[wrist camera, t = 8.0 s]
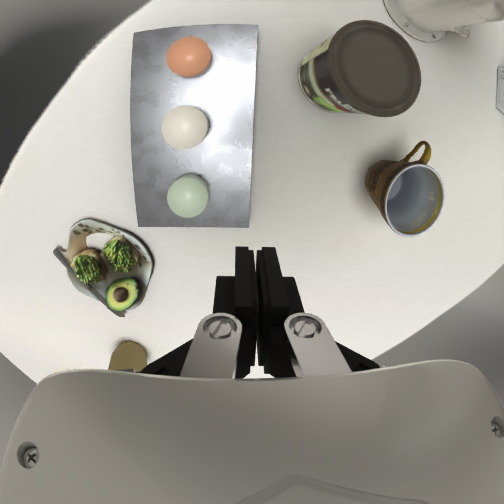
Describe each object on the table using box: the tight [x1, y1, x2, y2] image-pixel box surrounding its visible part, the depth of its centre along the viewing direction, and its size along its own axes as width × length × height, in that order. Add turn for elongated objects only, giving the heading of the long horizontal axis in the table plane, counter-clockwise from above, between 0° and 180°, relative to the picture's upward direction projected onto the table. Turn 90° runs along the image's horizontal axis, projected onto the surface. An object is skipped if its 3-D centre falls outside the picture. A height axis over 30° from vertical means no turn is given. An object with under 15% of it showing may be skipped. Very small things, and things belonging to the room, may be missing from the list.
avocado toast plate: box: [53, 219, 154, 317], centre depth 43 cm, size 19×18×5 cm
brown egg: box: [166, 36, 212, 78], centre depth 28 cm, size 5×5×5 cm
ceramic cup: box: [365, 141, 444, 237], centre depth 35 cm, size 13×10×10 cm
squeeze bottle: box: [108, 341, 147, 372], centre depth 47 cm, size 8×8×18 cm
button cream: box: [162, 106, 209, 150], centre depth 31 cm, size 5×5×5 cm
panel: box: [130, 24, 258, 228], centre depth 34 cm, size 16×28×3 cm, turn 178°
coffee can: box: [298, 20, 421, 117], centre depth 26 cm, size 10×10×14 cm
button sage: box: [167, 174, 209, 218], centre depth 37 cm, size 5×5×5 cm
